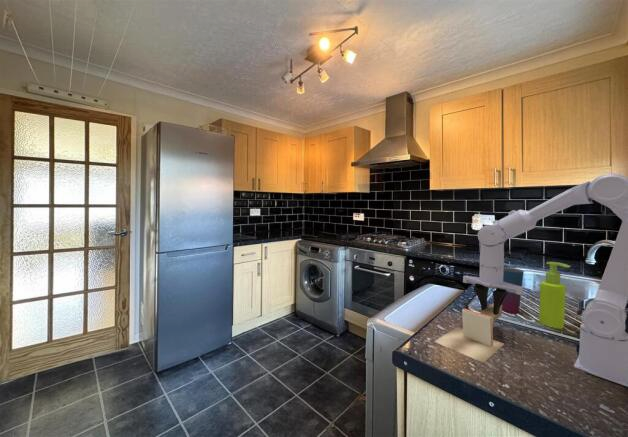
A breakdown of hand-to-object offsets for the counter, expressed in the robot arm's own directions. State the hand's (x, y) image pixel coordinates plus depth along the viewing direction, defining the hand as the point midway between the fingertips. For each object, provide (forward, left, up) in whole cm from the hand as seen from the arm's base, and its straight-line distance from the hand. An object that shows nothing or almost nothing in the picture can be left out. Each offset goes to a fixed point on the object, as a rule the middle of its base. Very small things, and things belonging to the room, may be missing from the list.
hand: (490, 312), depth 75 cm
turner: (0, +1, -2) cm, 3 cm away
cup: (+2, -26, -7) cm, 26 cm away
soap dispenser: (-10, -22, -7) cm, 25 cm away
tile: (0, +8, -6) cm, 10 cm away
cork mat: (+1, +12, -6) cm, 13 cm away
